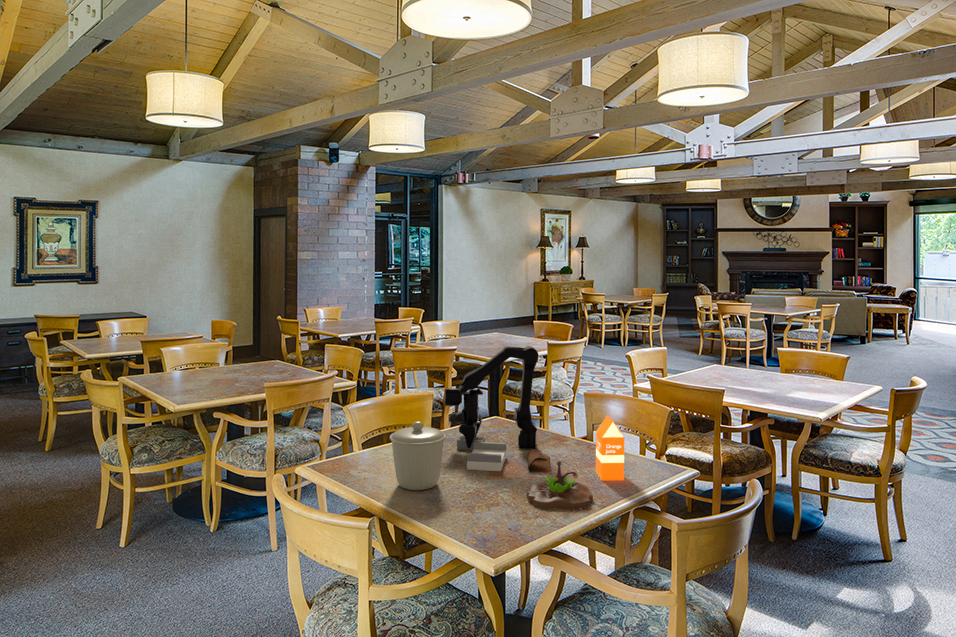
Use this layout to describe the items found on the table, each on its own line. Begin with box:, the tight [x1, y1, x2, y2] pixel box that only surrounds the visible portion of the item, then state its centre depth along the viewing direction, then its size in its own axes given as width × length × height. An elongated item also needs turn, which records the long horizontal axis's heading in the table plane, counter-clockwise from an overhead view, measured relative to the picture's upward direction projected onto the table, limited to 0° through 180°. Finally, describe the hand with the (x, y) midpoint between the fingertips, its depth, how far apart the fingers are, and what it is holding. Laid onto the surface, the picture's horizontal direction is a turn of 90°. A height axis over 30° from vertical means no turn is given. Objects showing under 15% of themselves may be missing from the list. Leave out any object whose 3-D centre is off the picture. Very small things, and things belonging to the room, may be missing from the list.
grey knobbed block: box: [456, 433, 486, 451], centre depth 247 cm, size 10×6×5 cm, turn 77°
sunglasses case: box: [527, 449, 552, 473], centre depth 227 cm, size 18×7×7 cm
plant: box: [526, 460, 594, 511], centre depth 194 cm, size 20×20×11 cm
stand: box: [466, 441, 507, 472], centre depth 228 cm, size 12×16×6 cm
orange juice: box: [595, 415, 625, 481], centre depth 213 cm, size 8×9×20 cm
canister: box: [389, 420, 447, 491], centre depth 204 cm, size 18×18×21 cm
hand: (470, 444), depth 247 cm, fingers open, 9 cm apart
